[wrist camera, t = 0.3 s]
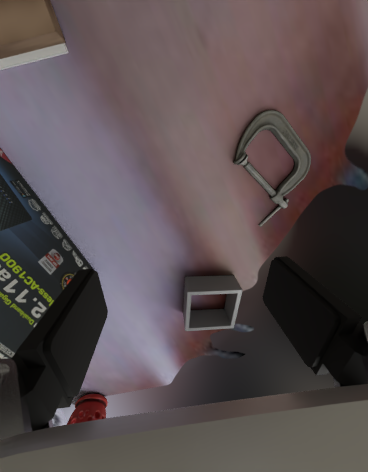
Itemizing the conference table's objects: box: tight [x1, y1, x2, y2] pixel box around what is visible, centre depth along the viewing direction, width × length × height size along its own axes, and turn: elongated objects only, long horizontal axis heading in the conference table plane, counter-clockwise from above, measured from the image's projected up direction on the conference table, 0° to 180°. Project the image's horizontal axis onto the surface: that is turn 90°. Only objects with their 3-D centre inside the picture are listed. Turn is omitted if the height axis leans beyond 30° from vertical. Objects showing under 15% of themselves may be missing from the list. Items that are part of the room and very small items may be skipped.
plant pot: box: [67, 393, 107, 425], centre depth 63 cm, size 13×13×12 cm
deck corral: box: [183, 275, 242, 331], centre depth 48 cm, size 14×14×6 cm
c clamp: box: [234, 110, 311, 227], centre depth 37 cm, size 20×17×3 cm
